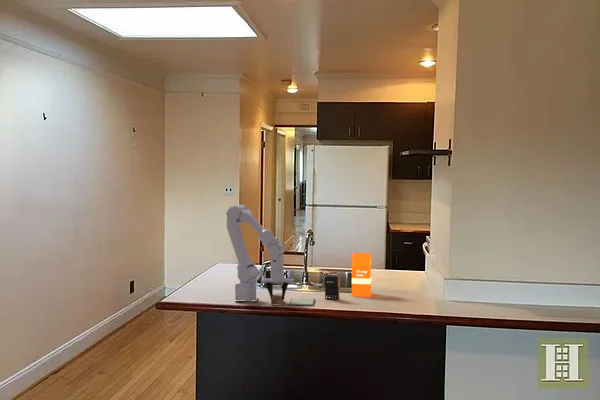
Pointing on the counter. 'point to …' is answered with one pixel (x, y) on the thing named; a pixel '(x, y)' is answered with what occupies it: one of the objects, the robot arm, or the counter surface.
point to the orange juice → (361, 274)
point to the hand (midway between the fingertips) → (277, 299)
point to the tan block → (276, 298)
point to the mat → (302, 302)
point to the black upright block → (332, 287)
